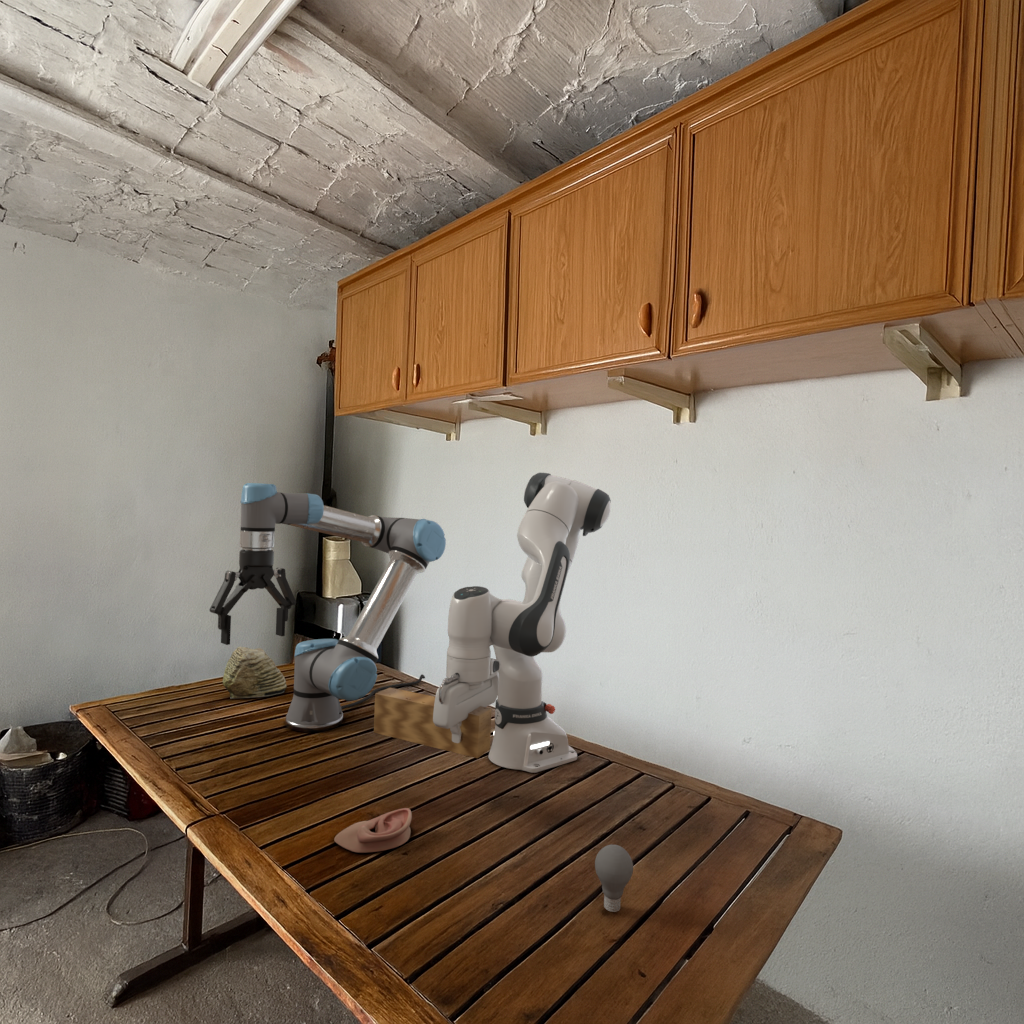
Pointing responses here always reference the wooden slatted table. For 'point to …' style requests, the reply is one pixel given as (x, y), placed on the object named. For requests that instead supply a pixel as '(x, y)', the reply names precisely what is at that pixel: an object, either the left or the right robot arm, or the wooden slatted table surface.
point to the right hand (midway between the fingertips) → (465, 736)
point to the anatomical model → (377, 832)
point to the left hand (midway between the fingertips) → (253, 639)
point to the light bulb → (613, 874)
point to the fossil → (252, 674)
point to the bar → (429, 723)
